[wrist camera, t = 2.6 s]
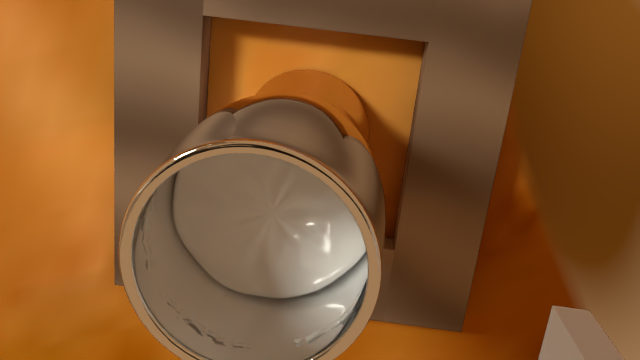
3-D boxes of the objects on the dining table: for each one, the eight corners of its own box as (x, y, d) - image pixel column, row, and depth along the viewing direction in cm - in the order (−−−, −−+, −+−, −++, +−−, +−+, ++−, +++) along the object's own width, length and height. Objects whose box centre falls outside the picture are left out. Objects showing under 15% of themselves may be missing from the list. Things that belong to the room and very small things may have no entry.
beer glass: (211, 97, 28) (54, 204, 14) (340, 33, 27) (311, 79, 13) (276, 219, 30) (196, 423, 16) (401, 164, 29) (436, 334, 14)
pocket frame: (127, -89, 26) (114, -94, 25) (532, -44, 25) (542, -46, 24) (126, 271, 32) (114, 284, 30) (457, 316, 31) (461, 332, 29)
